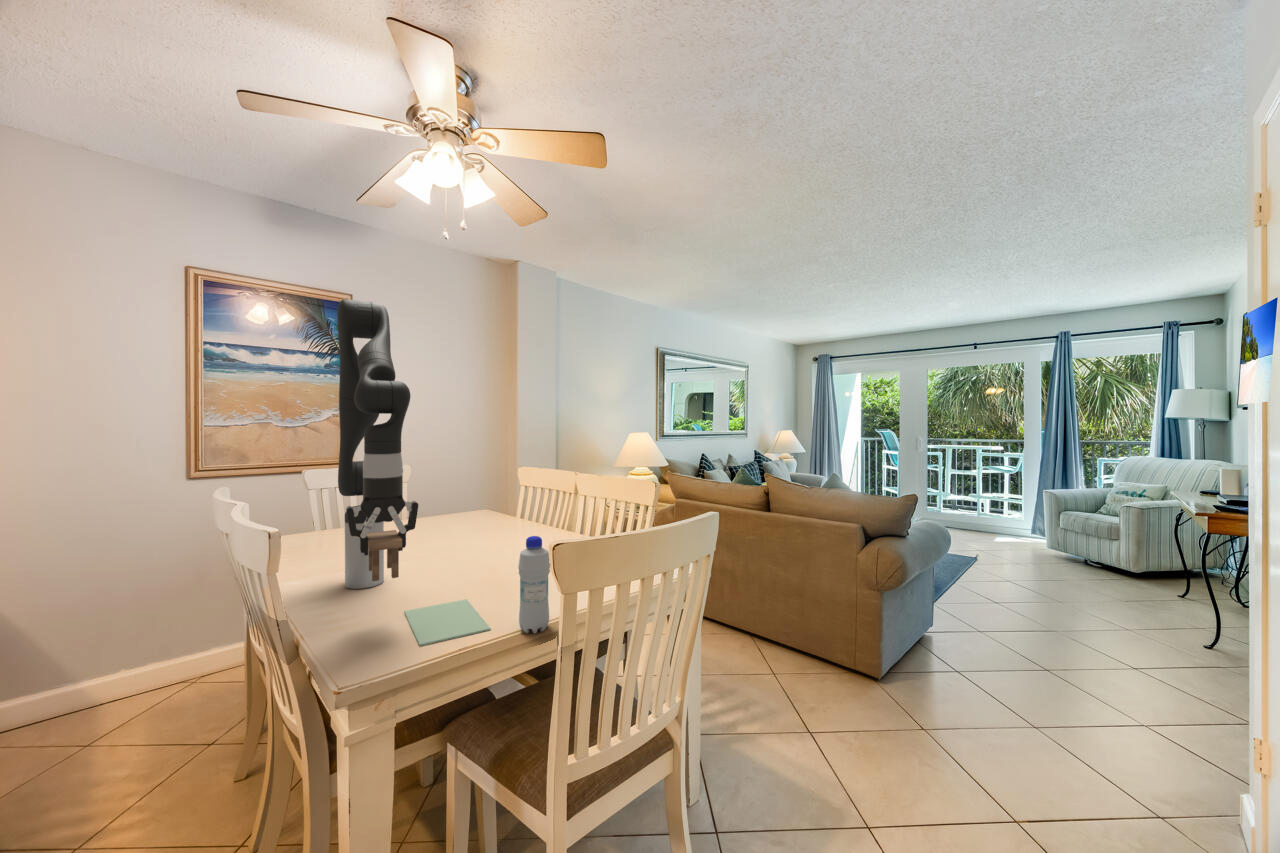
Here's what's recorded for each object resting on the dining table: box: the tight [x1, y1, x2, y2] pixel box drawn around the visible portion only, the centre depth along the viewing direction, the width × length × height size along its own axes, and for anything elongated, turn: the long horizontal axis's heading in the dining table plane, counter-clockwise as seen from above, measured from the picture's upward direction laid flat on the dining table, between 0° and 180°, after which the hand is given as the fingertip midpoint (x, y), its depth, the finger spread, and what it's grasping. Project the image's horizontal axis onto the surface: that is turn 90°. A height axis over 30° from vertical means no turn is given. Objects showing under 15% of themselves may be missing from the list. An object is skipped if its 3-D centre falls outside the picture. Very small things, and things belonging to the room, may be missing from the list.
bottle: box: [517, 535, 551, 634], centre depth 106 cm, size 7×7×20 cm
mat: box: [403, 599, 491, 647], centre depth 110 cm, size 20×14×1 cm
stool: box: [367, 529, 402, 581], centre depth 106 cm, size 10×6×8 cm, turn 33°
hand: (383, 552), depth 106 cm, fingers closed on stool, 6 cm apart
